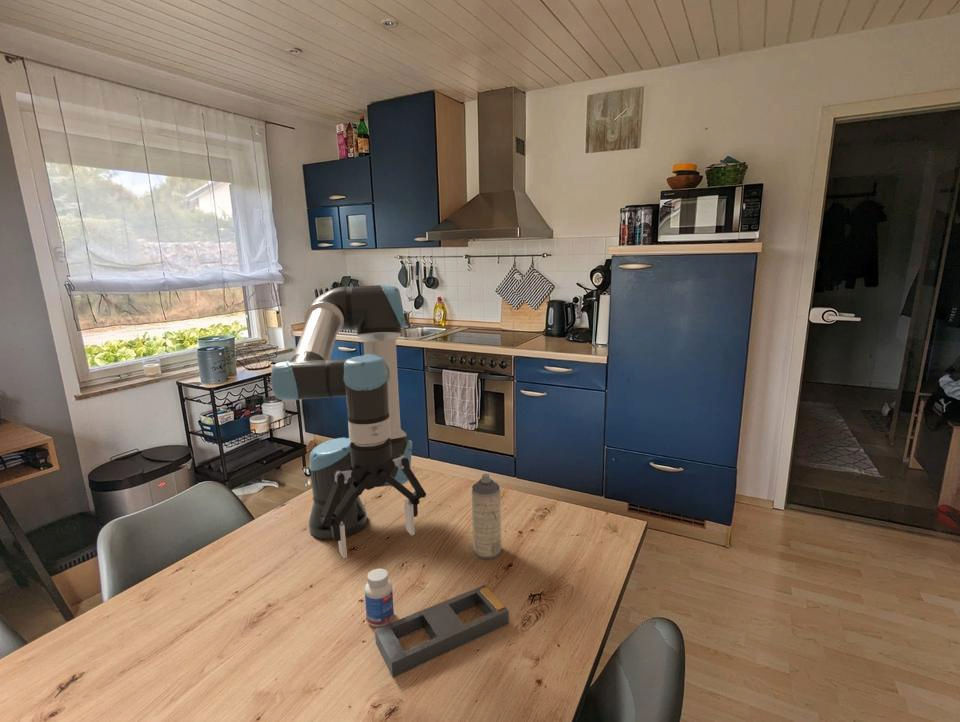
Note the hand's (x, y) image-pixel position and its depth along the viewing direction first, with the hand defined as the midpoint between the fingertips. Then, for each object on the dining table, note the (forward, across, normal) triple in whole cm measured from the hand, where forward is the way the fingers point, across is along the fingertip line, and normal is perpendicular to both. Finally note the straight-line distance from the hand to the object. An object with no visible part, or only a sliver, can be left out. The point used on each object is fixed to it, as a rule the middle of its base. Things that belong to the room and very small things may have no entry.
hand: (377, 542), depth 95 cm
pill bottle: (+17, -1, 0) cm, 17 cm away
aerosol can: (+17, +30, +8) cm, 35 cm away
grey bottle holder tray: (+17, +8, -10) cm, 21 cm away
